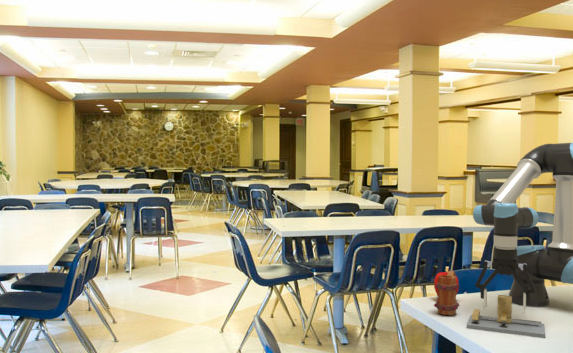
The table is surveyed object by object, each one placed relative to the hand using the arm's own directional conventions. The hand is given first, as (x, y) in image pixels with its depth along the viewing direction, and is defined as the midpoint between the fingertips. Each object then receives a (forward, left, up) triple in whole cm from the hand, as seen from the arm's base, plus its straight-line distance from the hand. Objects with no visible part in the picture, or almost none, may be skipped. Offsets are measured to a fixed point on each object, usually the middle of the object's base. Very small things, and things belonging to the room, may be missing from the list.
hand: (504, 310), depth 182 cm
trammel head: (+1, +2, -4) cm, 4 cm away
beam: (+1, +3, -4) cm, 5 cm away
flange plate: (+1, +2, -5) cm, 6 cm away
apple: (+6, -35, -6) cm, 36 cm away
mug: (+13, -18, -6) cm, 22 cm away
